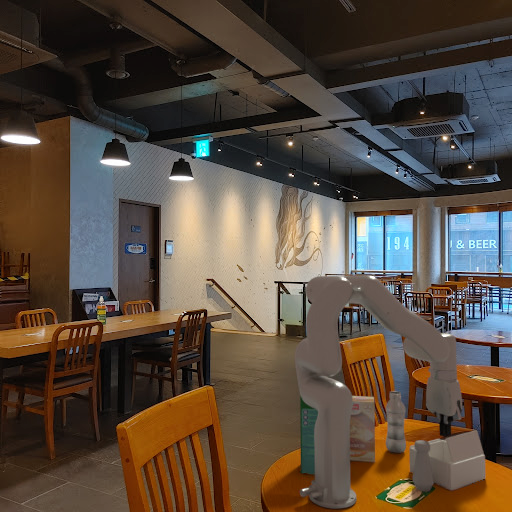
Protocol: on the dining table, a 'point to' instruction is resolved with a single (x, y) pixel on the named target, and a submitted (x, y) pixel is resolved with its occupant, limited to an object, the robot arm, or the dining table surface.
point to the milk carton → (307, 437)
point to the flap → (464, 446)
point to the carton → (451, 466)
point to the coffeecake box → (362, 429)
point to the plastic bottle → (395, 423)
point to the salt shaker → (423, 467)
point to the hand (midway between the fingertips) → (445, 435)
